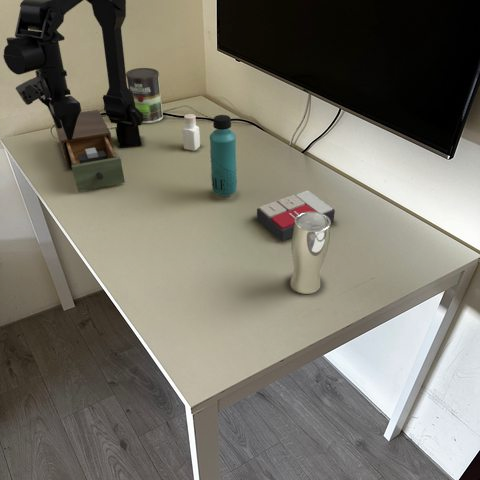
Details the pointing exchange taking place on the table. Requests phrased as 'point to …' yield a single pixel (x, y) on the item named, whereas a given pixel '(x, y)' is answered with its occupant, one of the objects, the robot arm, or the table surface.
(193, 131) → the salt shaker
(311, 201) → the grey and red box
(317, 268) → the beer glass
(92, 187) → the drawer
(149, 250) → the table surface
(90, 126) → the cabinet
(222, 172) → the beverage bottle
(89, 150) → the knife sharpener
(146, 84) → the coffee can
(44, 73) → the robot arm
